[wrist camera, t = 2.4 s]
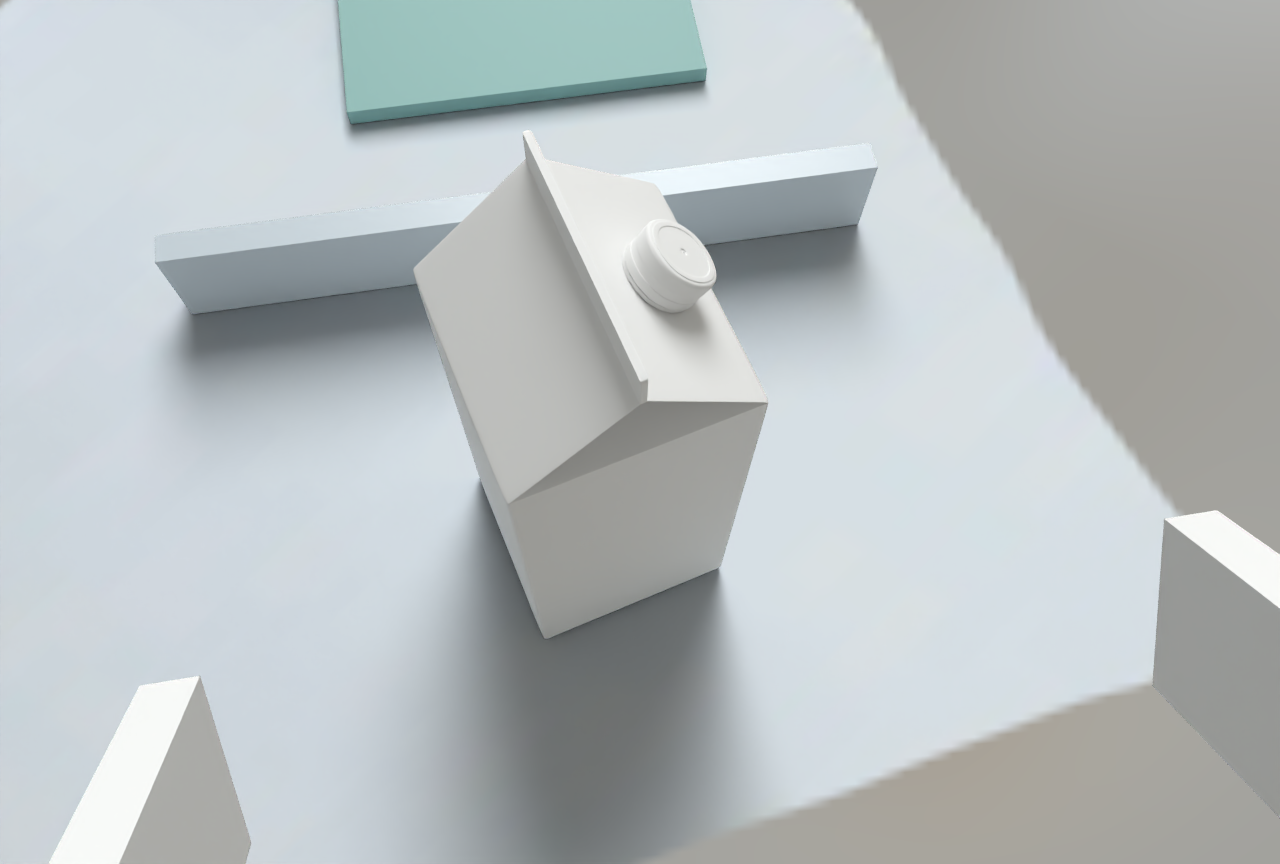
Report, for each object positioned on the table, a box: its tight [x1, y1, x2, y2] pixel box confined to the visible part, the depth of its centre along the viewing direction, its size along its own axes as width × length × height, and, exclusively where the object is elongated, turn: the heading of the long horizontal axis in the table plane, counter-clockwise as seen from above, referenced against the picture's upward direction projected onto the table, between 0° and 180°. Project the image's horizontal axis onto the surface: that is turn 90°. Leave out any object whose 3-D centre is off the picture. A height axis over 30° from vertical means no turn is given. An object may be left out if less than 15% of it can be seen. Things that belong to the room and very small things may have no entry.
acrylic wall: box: [155, 143, 878, 314], centre depth 45 cm, size 28×1×4 cm, turn 100°
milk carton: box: [413, 130, 768, 639], centre depth 34 cm, size 7×7×19 cm
